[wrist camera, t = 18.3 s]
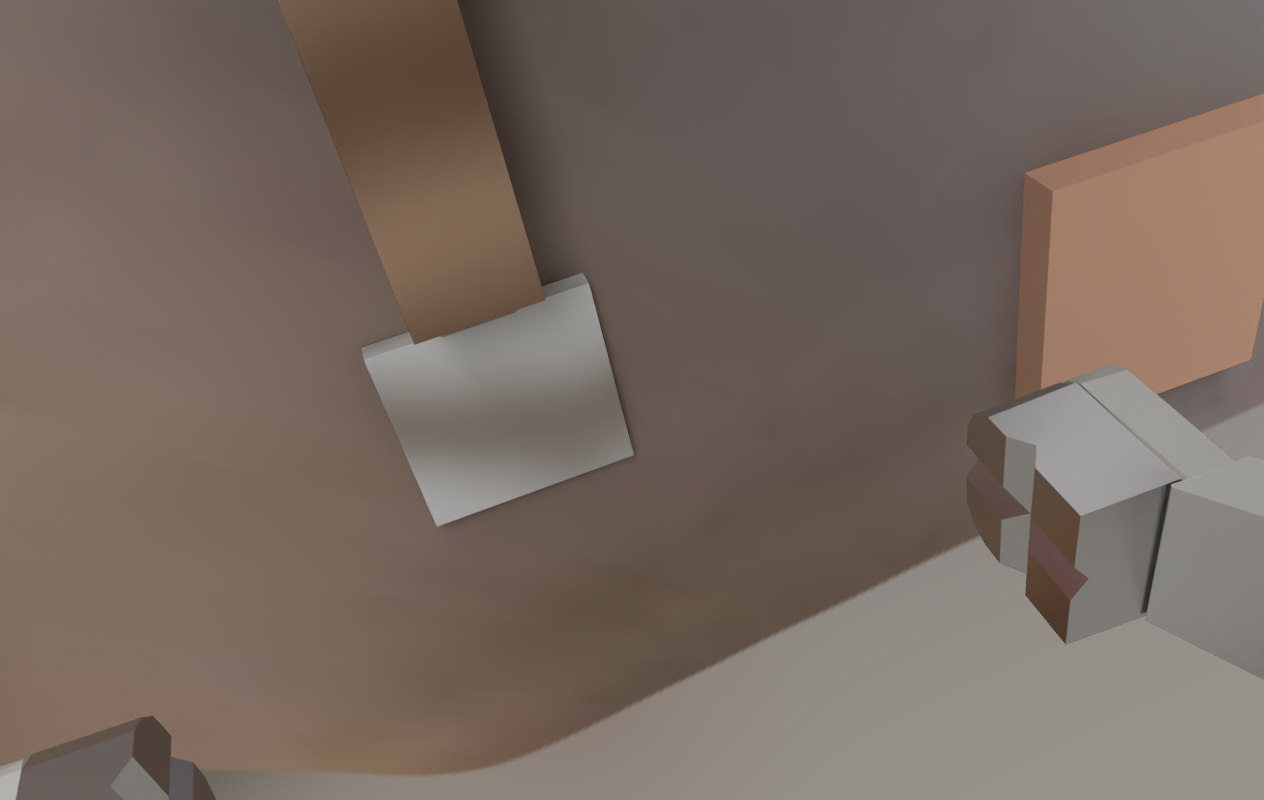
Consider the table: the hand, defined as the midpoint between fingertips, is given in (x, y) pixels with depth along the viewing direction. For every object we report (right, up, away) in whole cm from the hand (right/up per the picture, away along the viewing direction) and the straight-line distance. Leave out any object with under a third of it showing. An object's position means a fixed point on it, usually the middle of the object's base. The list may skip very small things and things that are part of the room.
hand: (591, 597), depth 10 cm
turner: (-4, +7, +15) cm, 17 cm away
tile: (+16, +6, +23) cm, 29 cm away
